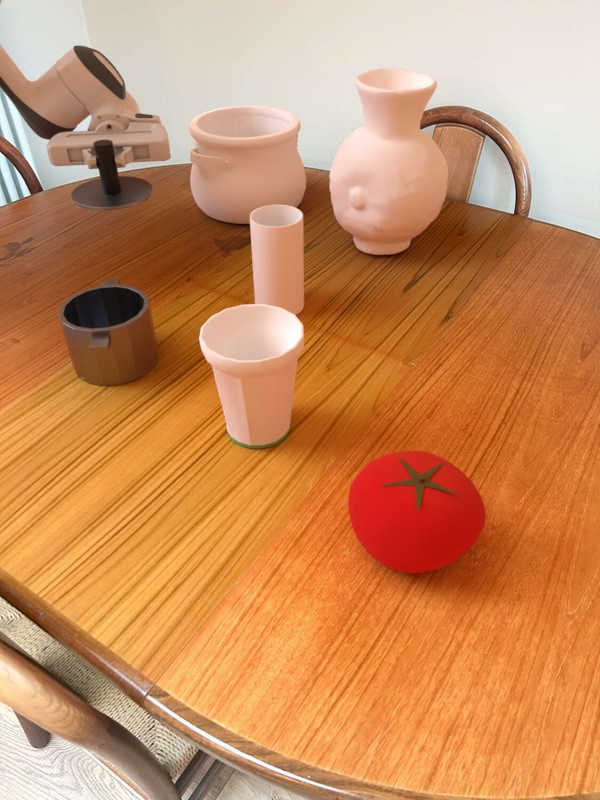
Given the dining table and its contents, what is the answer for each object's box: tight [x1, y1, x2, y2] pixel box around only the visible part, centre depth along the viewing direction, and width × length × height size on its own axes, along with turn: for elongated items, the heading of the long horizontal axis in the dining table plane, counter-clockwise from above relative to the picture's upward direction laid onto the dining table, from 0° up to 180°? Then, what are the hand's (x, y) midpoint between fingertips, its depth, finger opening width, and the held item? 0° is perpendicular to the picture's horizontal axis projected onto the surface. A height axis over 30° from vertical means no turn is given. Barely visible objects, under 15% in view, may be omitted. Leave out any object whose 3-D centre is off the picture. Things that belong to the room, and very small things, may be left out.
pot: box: [188, 104, 307, 225], centre depth 137 cm, size 26×24×18 cm
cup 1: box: [249, 205, 305, 316], centre depth 105 cm, size 8×8×16 cm
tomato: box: [347, 450, 487, 574], centre depth 69 cm, size 14×13×10 cm
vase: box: [328, 67, 450, 256], centre depth 117 cm, size 19×21×30 cm
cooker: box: [57, 279, 159, 387], centre depth 96 cm, size 12×18×10 cm
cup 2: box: [198, 303, 305, 449], centre depth 82 cm, size 12×12×15 cm
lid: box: [70, 140, 154, 211], centre depth 108 cm, size 13×13×9 cm
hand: (106, 163), depth 106 cm, fingers closed on lid, 3 cm apart
